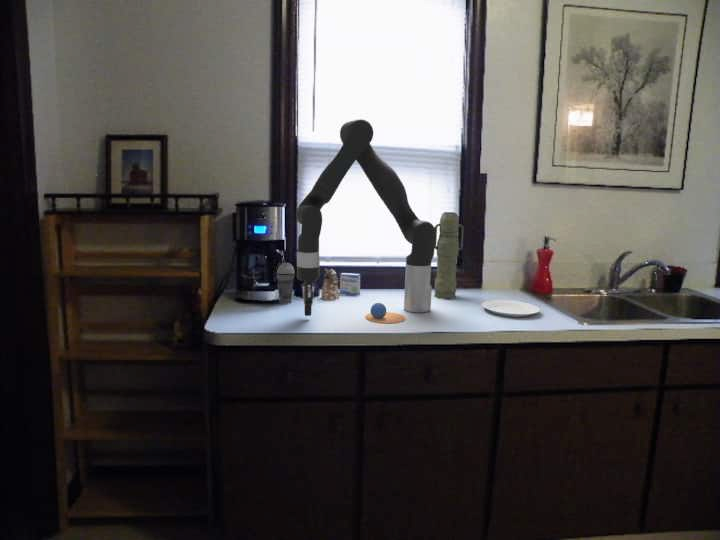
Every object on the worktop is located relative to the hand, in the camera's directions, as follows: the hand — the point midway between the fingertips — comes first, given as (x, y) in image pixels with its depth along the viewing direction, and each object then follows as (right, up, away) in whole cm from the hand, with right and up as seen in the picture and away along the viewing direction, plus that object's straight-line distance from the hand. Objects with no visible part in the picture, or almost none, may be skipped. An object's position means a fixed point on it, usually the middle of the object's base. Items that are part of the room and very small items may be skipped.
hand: (307, 315), depth 171 cm
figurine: (+6, +4, +31) cm, 32 cm away
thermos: (+53, +4, +39) cm, 66 cm away
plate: (+74, -1, +18) cm, 76 cm away
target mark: (+27, -1, +5) cm, 27 cm away
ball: (+24, +1, +3) cm, 24 cm away
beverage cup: (-11, +3, +22) cm, 25 cm away
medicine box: (+13, +5, +40) cm, 42 cm away
